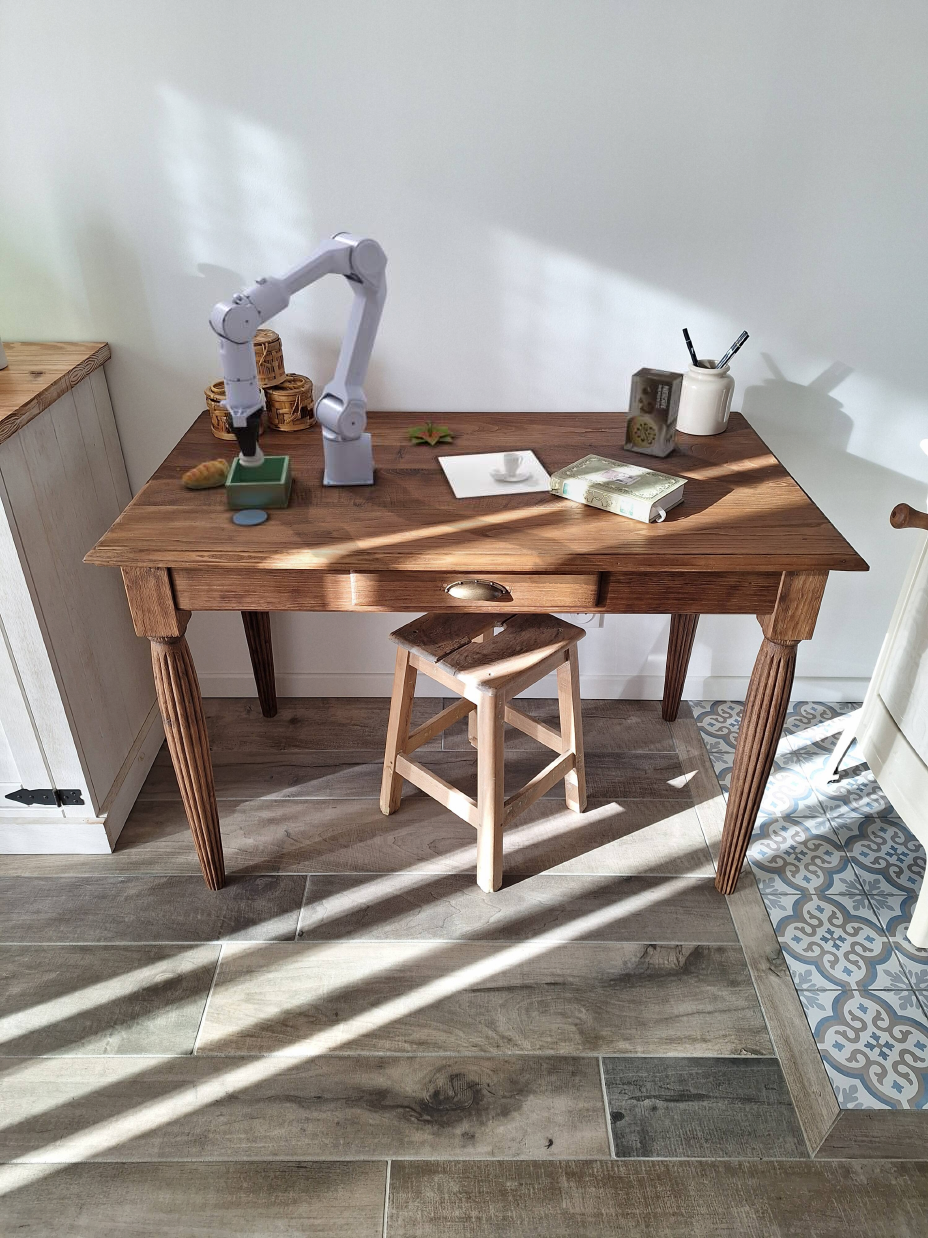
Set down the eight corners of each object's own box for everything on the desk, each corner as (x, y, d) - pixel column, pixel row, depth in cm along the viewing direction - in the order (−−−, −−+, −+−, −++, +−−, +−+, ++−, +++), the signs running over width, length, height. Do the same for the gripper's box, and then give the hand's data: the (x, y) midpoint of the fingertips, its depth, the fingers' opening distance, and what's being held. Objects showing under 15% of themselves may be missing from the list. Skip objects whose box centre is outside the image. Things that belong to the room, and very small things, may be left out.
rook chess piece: (242, 469, 151) (235, 426, 147) (237, 460, 154) (231, 417, 150) (267, 465, 153) (261, 422, 148) (262, 456, 156) (256, 414, 152)
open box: (292, 479, 166) (289, 455, 164) (286, 507, 156) (283, 483, 153) (238, 480, 166) (234, 457, 163) (229, 509, 155) (225, 485, 152)
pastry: (191, 494, 160) (187, 475, 158) (176, 483, 165) (173, 464, 163) (237, 481, 165) (234, 463, 163) (221, 471, 170) (219, 453, 167)
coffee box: (674, 448, 181) (685, 373, 172) (663, 458, 176) (674, 381, 168) (634, 439, 185) (643, 365, 176) (622, 449, 180) (631, 373, 172)
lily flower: (453, 426, 191) (453, 406, 188) (460, 446, 181) (461, 426, 179) (400, 428, 190) (399, 409, 187) (404, 449, 180) (404, 428, 177)
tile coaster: (268, 510, 155) (268, 508, 155) (265, 525, 150) (265, 523, 150) (235, 511, 154) (235, 509, 154) (230, 526, 149) (230, 524, 149)
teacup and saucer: (491, 485, 165) (492, 465, 162) (482, 468, 171) (483, 449, 169) (535, 481, 166) (536, 461, 164) (524, 465, 173) (525, 446, 170)
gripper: (222, 364, 151) (233, 437, 158) (209, 390, 139) (222, 468, 146) (263, 363, 151) (272, 436, 159) (253, 389, 139) (263, 466, 147)
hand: (250, 451), depth 152 cm, fingers closed on rook chess piece, 3 cm apart
